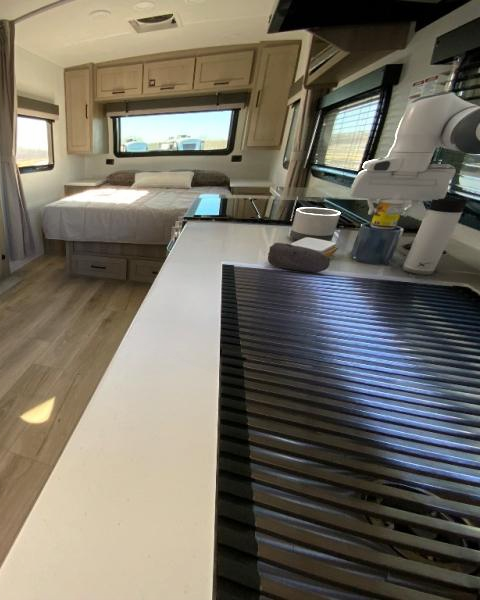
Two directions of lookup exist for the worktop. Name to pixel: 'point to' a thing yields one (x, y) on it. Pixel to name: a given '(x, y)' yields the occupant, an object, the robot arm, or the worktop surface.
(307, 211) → the planter
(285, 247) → the perforated stone tool
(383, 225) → the supplement bottle
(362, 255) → the blue cylindrical cup
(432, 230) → the travel mug
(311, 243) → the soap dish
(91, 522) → the worktop surface
